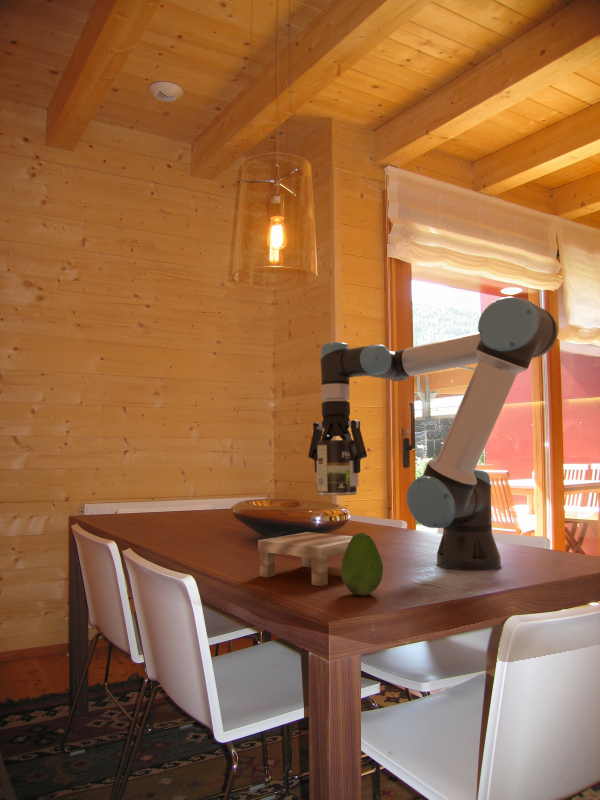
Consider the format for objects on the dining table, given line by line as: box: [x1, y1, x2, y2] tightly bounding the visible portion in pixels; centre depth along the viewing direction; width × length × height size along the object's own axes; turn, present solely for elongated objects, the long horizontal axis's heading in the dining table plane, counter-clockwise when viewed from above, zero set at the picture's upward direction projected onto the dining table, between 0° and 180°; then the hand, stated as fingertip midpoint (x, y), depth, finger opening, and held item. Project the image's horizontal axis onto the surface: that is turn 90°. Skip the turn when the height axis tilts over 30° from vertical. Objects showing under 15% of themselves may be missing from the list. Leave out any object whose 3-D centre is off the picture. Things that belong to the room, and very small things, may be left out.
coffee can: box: [317, 439, 358, 496], centre depth 161 cm, size 10×10×14 cm
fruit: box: [340, 532, 384, 597], centre depth 120 cm, size 8×8×12 cm
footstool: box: [257, 531, 354, 587], centre depth 140 cm, size 18×18×8 cm
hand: (337, 485), depth 160 cm, fingers closed on coffee can, 10 cm apart
